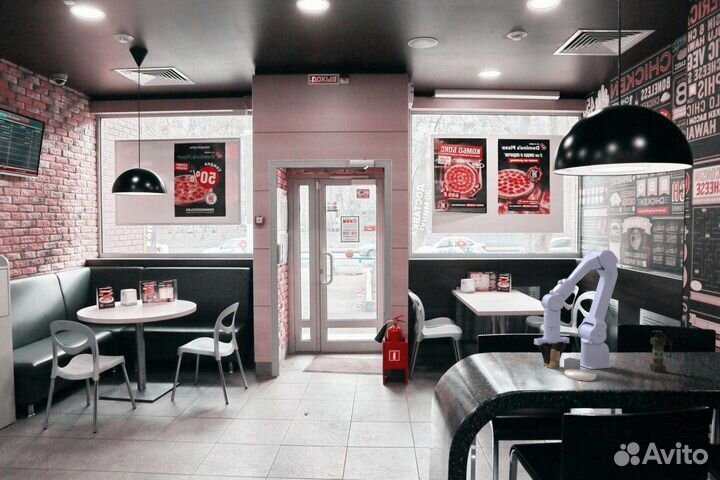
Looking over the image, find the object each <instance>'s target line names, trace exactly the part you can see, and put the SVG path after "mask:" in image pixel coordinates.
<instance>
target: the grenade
mask: <svg viewBox="0 0 720 480" xmlns="http://www.w3.org/2000/svg"><path fill="white" fill-rule="evenodd" d="M651 332H652V334H653V333H654V337H653V336H652V337H650V339H649V340H650V341H649V343H650V344H651V345H652V363H651V364H649V370H650V371H652V372H655V373H665V372H666V370H667V366H666V365H665V364H664V359H665V358H664V357H666V358H672V341H671V340H670V338H668V337H667V336H666V334H665V333H664V332H663V331H662V329H660V330H651ZM667 342H668V345H670V347H669V350H670V351H669V356H668V355H665V356H664V347H665V346H666V345H667Z"/></svg>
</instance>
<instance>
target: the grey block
mask: <svg viewBox="0 0 720 480" xmlns="http://www.w3.org/2000/svg"><path fill="white" fill-rule="evenodd" d="M580 363H581V359H578V358H573V357H567V358H563V370H564V371H565V370H566V369H581V366H580Z"/></svg>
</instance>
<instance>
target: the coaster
mask: <svg viewBox="0 0 720 480" xmlns="http://www.w3.org/2000/svg"><path fill="white" fill-rule="evenodd" d="M563 374H564V377H565V376H566V378H567V377H568V379H569V380H574V381H579V380H583V381H582V382H593V380H594V381H596V380H597V373H596V372H594V371H591V370H588V369H581V368H580V369H566V370H564V373H563ZM595 379H596V380H595Z"/></svg>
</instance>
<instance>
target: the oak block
mask: <svg viewBox="0 0 720 480" xmlns="http://www.w3.org/2000/svg"><path fill="white" fill-rule="evenodd" d="M544 365H545V366H547V368H548V367H550V368H549V369H560V368H559V367H561V358H560V351H556V350H553V348H552V349H551V353H550V362H549V364H546V363H544V362H543V366H544ZM545 366H544V367H545Z"/></svg>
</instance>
